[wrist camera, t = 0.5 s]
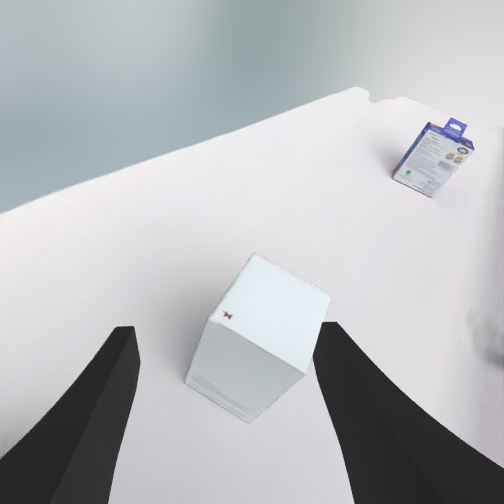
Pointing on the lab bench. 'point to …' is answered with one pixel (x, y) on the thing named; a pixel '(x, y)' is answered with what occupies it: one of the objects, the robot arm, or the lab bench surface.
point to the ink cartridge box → (433, 157)
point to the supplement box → (258, 339)
